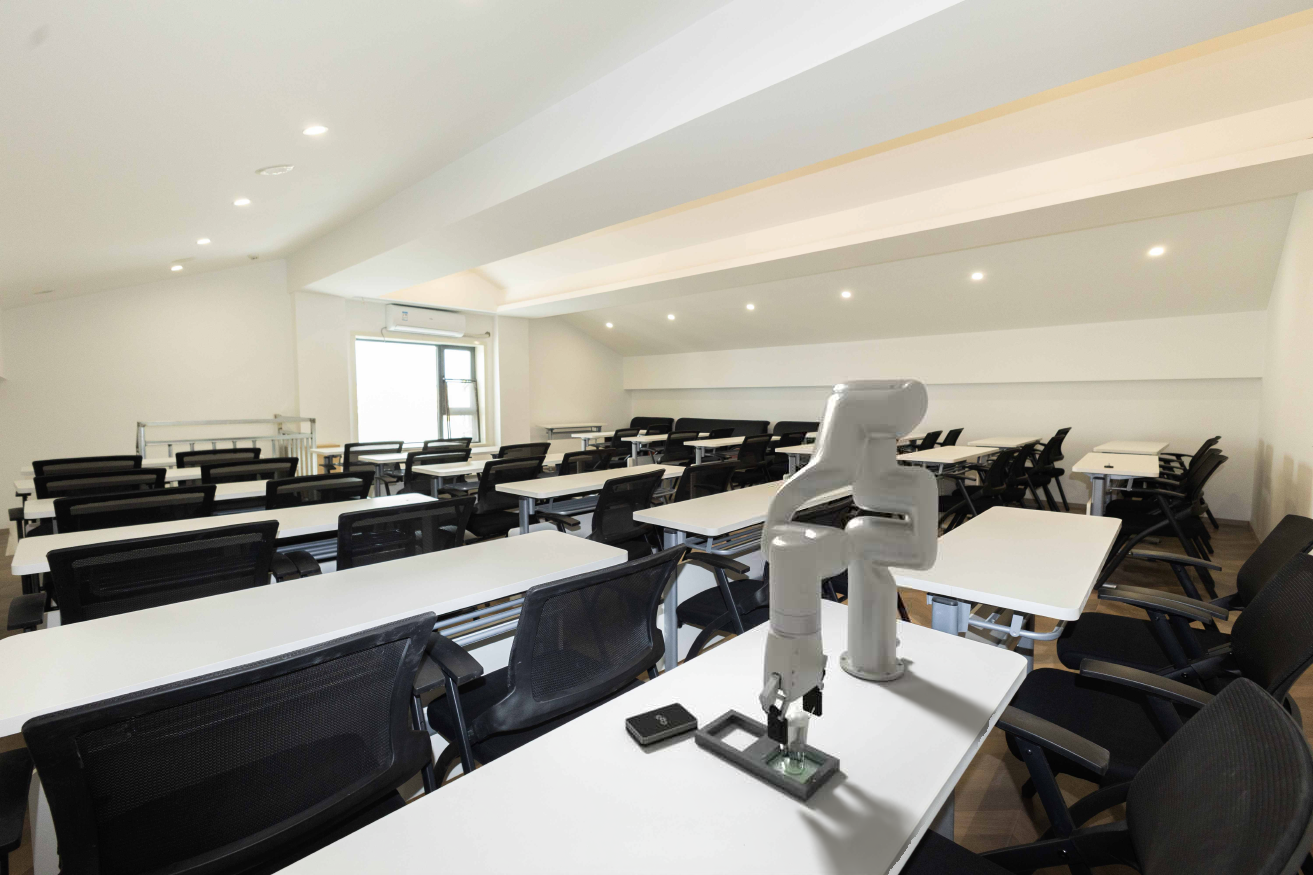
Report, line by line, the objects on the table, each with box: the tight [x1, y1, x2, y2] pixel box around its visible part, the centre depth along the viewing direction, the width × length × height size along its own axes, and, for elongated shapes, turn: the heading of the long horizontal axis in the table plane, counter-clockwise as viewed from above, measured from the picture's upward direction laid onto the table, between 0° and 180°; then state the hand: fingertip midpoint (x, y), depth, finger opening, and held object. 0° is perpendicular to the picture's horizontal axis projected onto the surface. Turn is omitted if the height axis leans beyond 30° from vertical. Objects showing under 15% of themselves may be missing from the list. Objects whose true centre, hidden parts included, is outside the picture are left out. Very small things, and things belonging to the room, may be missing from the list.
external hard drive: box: [624, 702, 699, 748], centre depth 102 cm, size 7×11×2 cm, turn 119°
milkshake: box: [781, 706, 815, 774], centre depth 90 cm, size 4×5×10 cm
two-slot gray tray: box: [694, 708, 841, 803], centre depth 94 cm, size 10×21×2 cm, turn 45°
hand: (795, 726), depth 90 cm, fingers open, 9 cm apart
